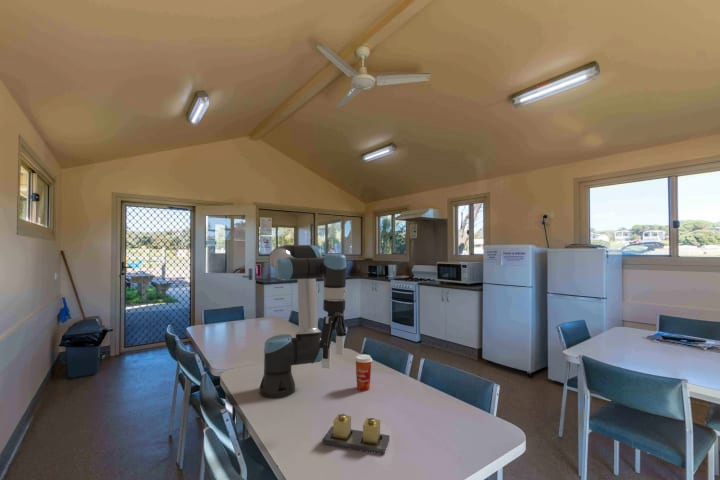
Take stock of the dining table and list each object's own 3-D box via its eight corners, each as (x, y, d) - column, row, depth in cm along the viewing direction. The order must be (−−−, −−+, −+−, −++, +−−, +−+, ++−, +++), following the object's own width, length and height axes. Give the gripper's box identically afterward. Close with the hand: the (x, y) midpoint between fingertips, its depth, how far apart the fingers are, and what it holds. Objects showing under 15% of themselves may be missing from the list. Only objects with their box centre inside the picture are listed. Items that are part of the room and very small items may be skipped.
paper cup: (351, 389, 149) (351, 357, 149) (359, 383, 156) (360, 353, 156) (367, 393, 145) (367, 360, 146) (375, 387, 152) (375, 355, 152)
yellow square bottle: (333, 442, 108) (333, 418, 108) (337, 435, 112) (338, 411, 113) (346, 445, 107) (346, 420, 107) (350, 437, 111) (351, 413, 111)
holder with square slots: (322, 444, 107) (323, 419, 108) (331, 431, 115) (331, 407, 115) (384, 454, 102) (384, 428, 102) (389, 440, 110) (389, 416, 110)
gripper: (332, 306, 103) (330, 376, 103) (354, 294, 127) (353, 350, 127) (309, 305, 105) (308, 373, 105) (336, 292, 129) (335, 348, 129)
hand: (333, 360), depth 116 cm, fingers open, 13 cm apart
